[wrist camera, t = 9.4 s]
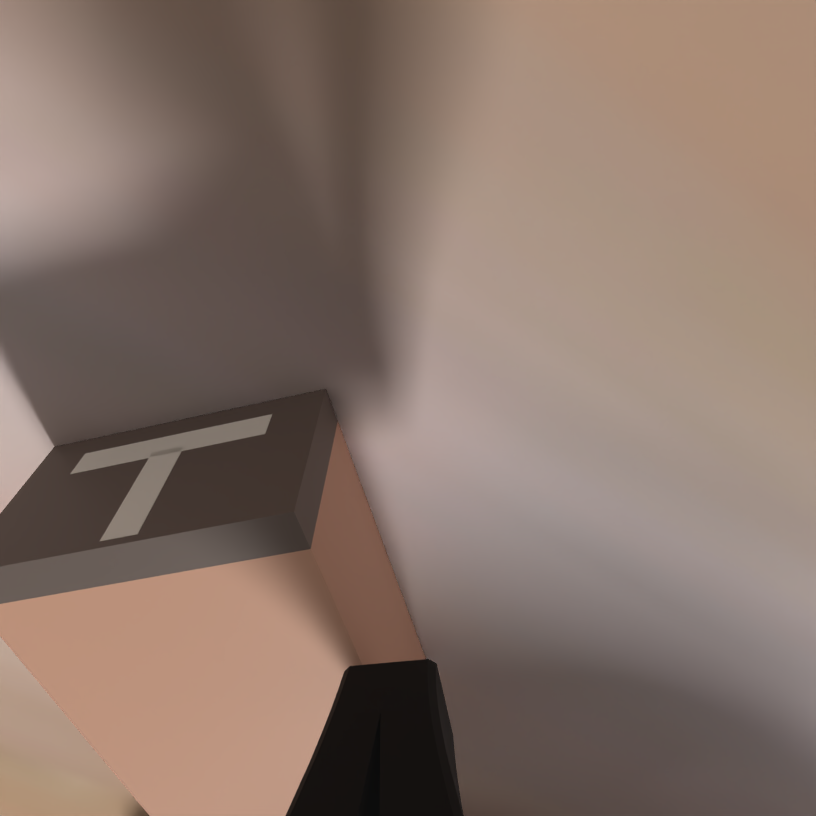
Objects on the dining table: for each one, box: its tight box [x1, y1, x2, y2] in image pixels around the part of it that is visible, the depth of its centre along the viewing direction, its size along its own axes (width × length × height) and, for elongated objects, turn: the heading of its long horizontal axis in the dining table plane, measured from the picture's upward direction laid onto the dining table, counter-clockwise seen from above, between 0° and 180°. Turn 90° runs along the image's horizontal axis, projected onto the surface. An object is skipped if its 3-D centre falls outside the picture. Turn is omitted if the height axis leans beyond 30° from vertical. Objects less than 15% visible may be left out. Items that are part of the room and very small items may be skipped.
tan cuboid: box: [0, 389, 426, 816], centre depth 13 cm, size 3×5×7 cm
